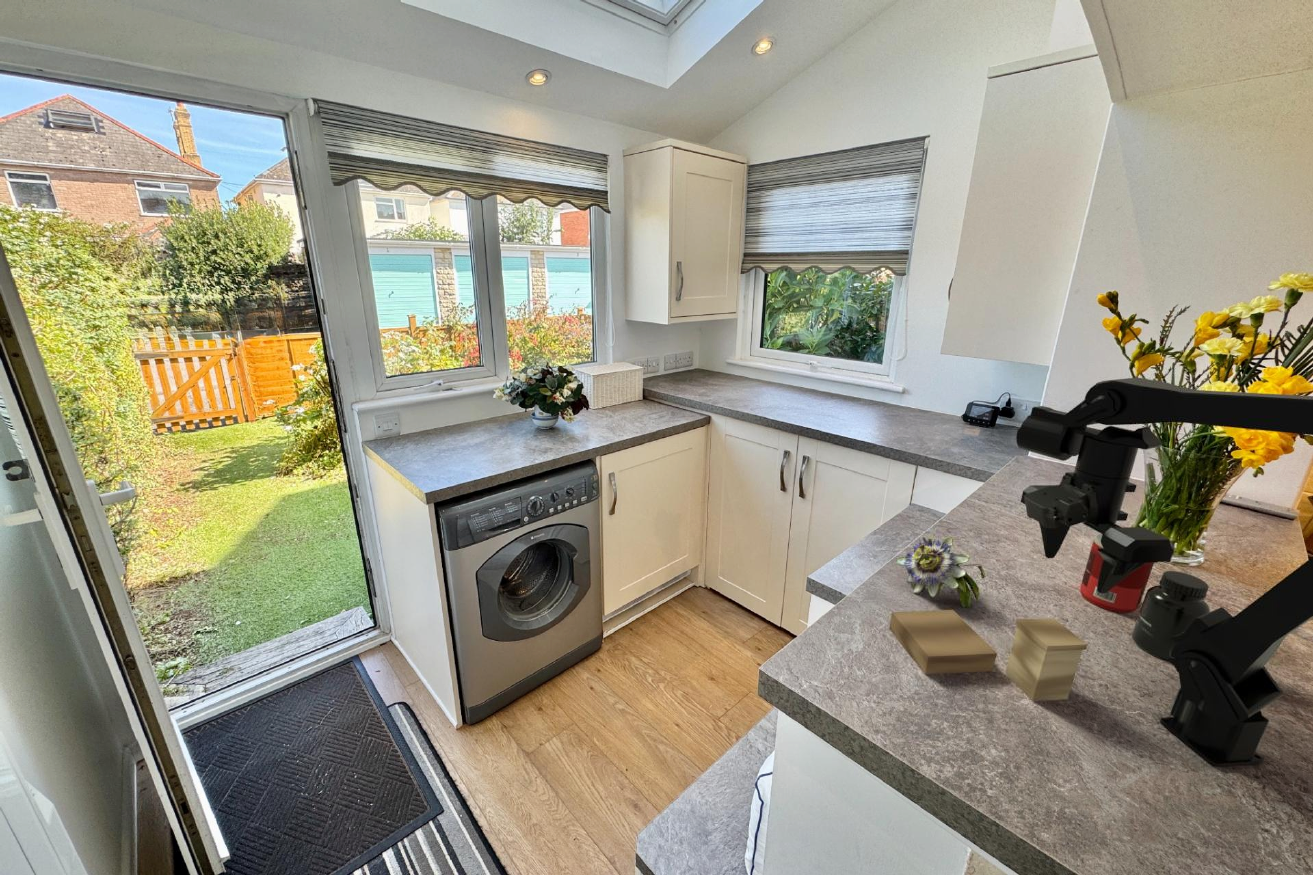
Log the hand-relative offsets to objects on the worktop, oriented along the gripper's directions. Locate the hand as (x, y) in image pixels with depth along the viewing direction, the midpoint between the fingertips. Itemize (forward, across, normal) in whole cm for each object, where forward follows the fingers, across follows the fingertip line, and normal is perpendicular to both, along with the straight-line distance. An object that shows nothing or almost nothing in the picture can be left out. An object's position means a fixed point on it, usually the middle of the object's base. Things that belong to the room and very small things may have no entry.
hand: (1074, 574), depth 75 cm
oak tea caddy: (+13, +7, -8) cm, 17 cm away
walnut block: (+13, -1, -17) cm, 22 cm away
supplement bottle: (+13, 0, +17) cm, 21 cm away
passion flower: (+13, -16, -9) cm, 22 cm away
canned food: (+13, -12, +19) cm, 26 cm away
